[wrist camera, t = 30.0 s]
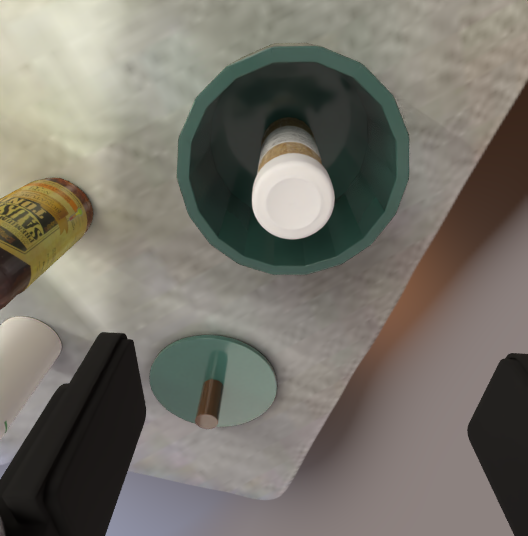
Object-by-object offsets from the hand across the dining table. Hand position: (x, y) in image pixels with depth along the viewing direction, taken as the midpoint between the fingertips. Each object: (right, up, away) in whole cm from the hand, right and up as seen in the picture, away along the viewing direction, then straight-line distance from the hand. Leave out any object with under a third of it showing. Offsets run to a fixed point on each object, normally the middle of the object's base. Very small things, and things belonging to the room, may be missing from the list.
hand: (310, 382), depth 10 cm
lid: (-7, -11, +37) cm, 40 cm away
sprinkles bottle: (+1, +14, +22) cm, 26 cm away
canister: (+1, +14, +22) cm, 26 cm away
